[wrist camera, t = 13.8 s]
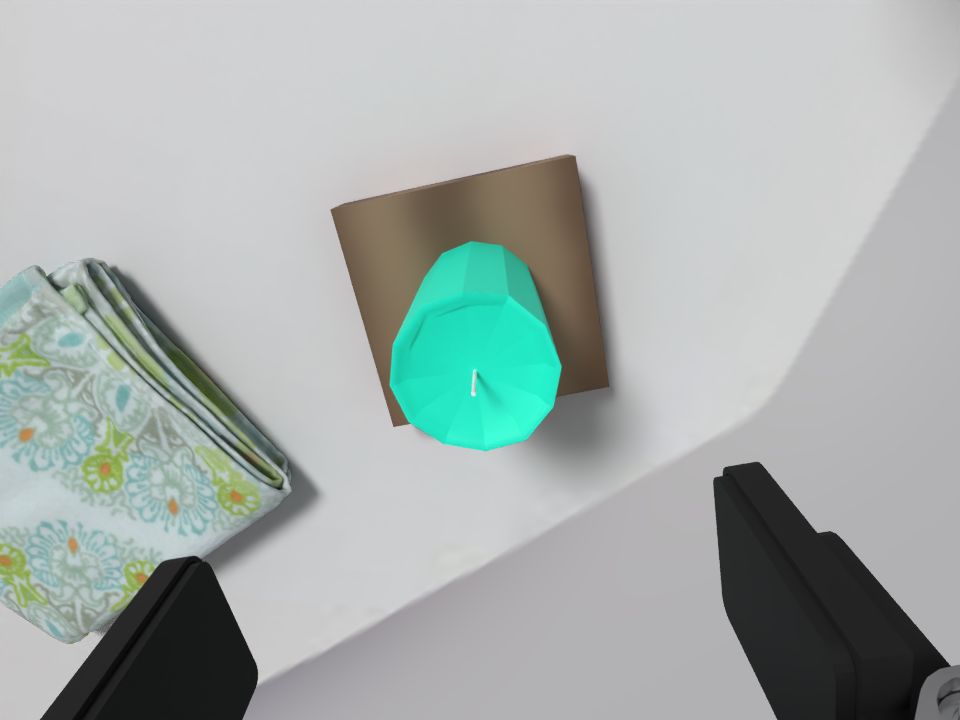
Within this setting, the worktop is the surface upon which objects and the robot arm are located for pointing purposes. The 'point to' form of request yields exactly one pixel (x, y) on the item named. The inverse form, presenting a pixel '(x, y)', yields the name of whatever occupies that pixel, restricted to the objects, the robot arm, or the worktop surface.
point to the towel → (110, 451)
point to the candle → (476, 351)
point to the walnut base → (487, 219)
